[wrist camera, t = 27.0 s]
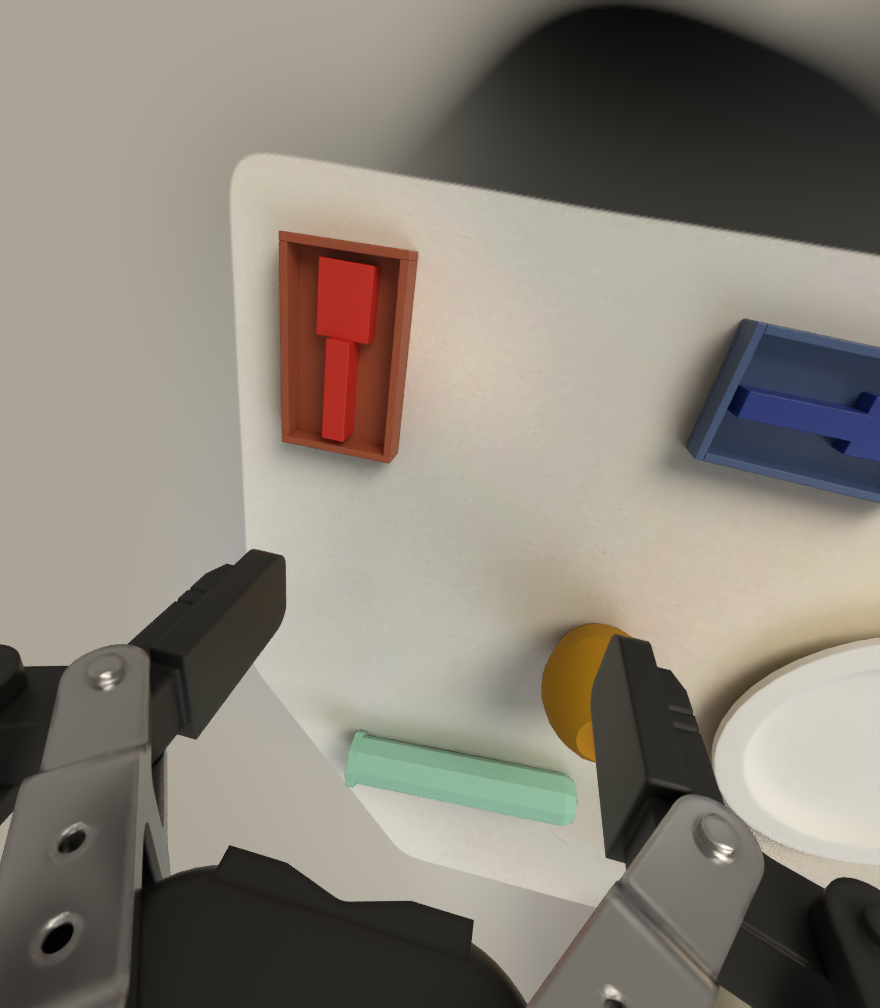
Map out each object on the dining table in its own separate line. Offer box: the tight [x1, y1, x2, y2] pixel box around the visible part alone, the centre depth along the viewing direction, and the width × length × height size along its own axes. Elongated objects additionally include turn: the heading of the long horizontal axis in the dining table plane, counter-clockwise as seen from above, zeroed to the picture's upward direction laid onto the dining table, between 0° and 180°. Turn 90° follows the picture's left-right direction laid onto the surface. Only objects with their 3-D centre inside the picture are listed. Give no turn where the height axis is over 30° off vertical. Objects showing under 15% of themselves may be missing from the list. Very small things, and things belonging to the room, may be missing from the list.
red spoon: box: [316, 256, 381, 442], centre depth 36 cm, size 13×4×2 cm, turn 171°
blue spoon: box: [727, 384, 880, 462], centre depth 32 cm, size 13×4×2 cm, turn 80°
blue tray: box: [686, 319, 880, 503], centre depth 32 cm, size 15×9×2 cm, turn 79°
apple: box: [542, 623, 632, 763], centre depth 40 cm, size 10×10×12 cm
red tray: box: [279, 231, 418, 463], centre depth 37 cm, size 15×9×2 cm, turn 172°
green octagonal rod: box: [345, 730, 578, 826], centre depth 53 cm, size 6×6×25 cm
